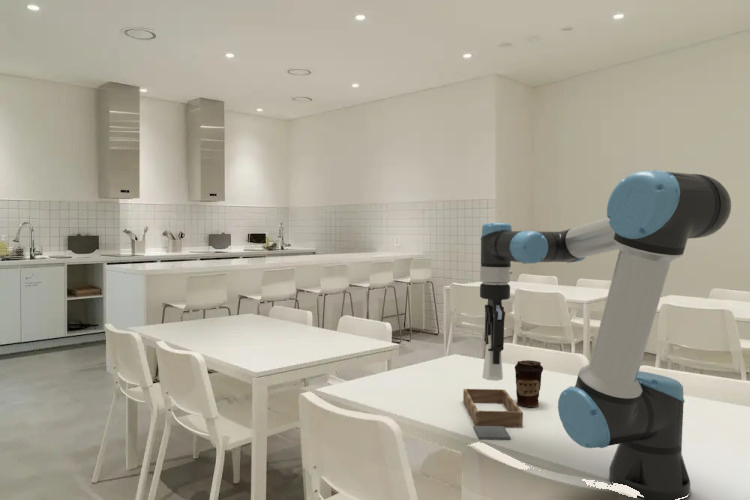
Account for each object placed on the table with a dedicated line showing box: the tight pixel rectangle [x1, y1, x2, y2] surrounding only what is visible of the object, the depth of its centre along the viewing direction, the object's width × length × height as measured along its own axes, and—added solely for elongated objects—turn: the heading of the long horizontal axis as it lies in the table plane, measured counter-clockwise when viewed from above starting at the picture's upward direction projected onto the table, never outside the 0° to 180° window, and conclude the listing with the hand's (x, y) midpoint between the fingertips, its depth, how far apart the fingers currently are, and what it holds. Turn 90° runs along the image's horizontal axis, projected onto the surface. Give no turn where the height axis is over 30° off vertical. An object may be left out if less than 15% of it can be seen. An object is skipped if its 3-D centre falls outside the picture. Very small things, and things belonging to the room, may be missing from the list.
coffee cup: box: [514, 359, 544, 408], centre depth 169 cm, size 9×8×13 cm
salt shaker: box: [481, 335, 504, 382], centre depth 144 cm, size 5×5×11 cm
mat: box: [472, 425, 512, 441], centre depth 145 cm, size 8×8×1 cm
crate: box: [462, 388, 524, 428], centre depth 160 cm, size 22×13×4 cm, turn 0°
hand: (492, 373), depth 144 cm, fingers closed on salt shaker, 4 cm apart
